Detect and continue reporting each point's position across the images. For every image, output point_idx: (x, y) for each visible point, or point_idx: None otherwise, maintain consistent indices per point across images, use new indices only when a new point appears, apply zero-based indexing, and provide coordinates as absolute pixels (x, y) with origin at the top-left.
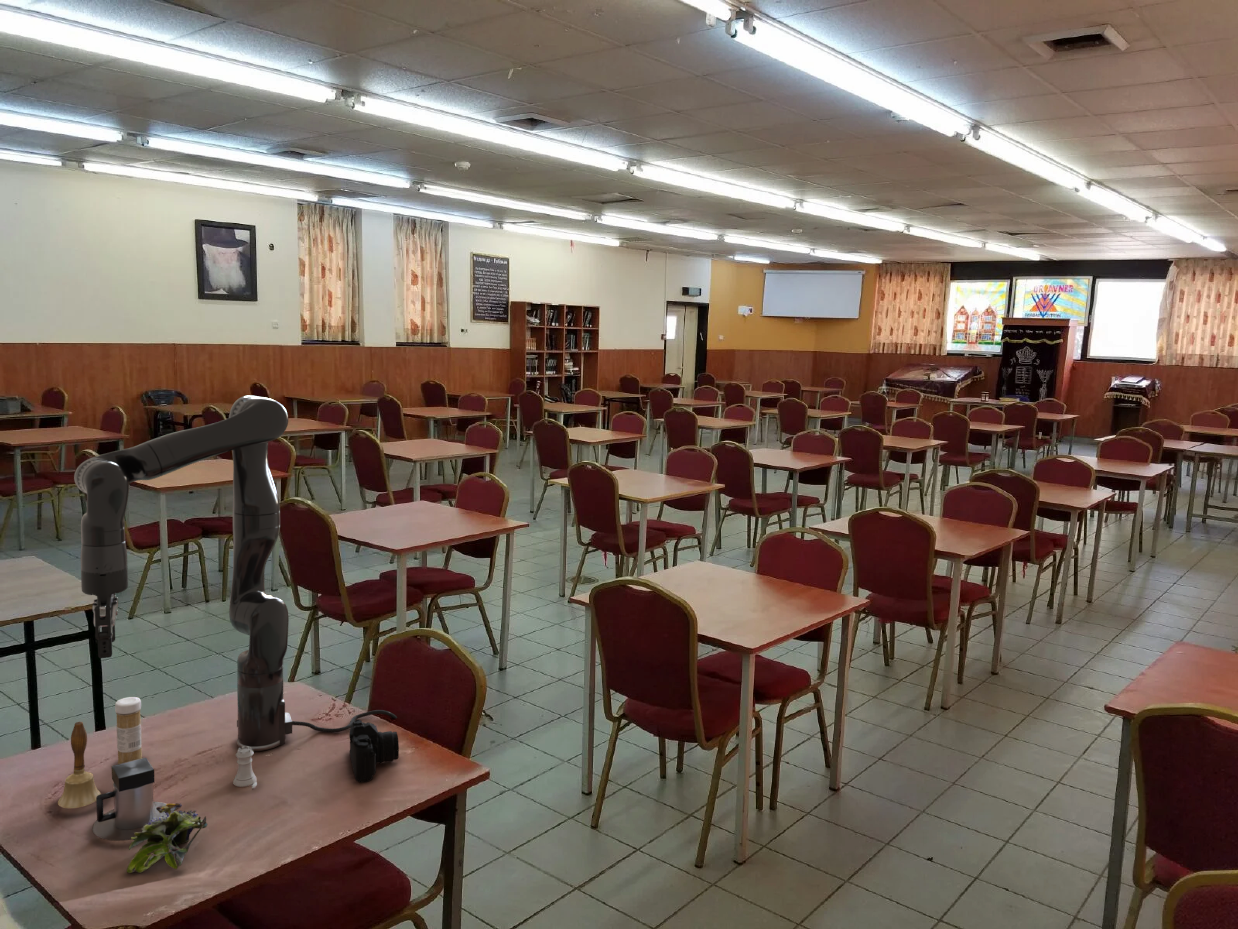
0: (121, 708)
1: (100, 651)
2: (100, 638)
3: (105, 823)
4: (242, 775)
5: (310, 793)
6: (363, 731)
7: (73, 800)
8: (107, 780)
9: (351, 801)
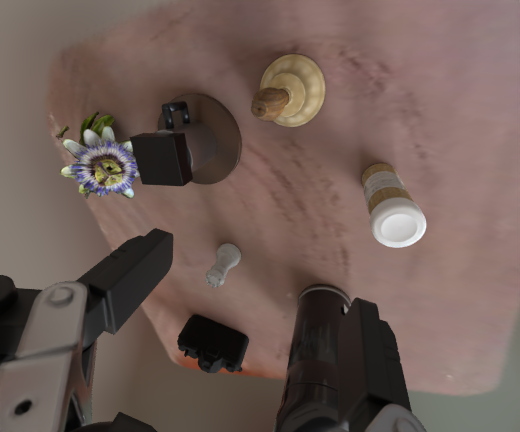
0: (380, 208)
1: (119, 247)
2: (21, 293)
3: (202, 111)
4: (217, 258)
5: (193, 283)
6: (201, 361)
7: (268, 81)
8: (344, 140)
9: (167, 296)
